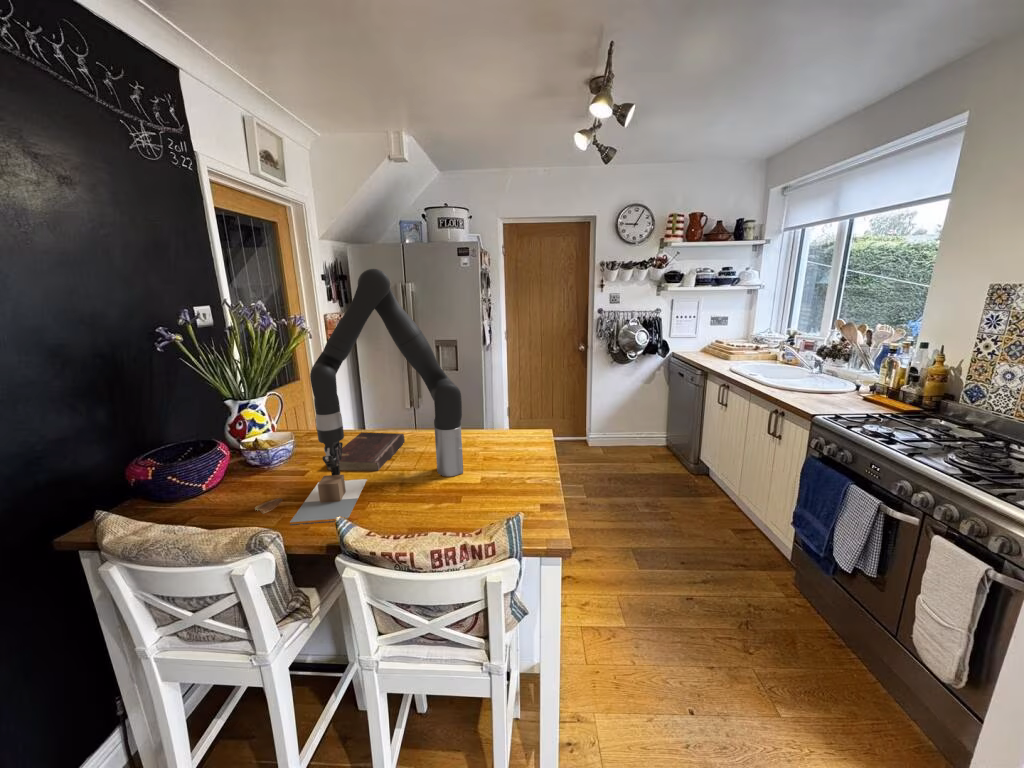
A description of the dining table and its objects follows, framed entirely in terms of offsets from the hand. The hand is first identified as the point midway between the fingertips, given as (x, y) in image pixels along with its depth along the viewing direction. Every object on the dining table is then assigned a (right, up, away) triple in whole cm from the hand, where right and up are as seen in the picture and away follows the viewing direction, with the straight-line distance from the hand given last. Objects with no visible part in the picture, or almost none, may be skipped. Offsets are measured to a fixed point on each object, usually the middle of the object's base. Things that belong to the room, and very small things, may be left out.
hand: (336, 476), depth 132 cm
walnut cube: (0, -2, -2) cm, 3 cm away
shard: (-17, -8, -7) cm, 20 cm away
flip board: (+1, -7, -5) cm, 9 cm away
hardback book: (+1, +1, +29) cm, 29 cm away
